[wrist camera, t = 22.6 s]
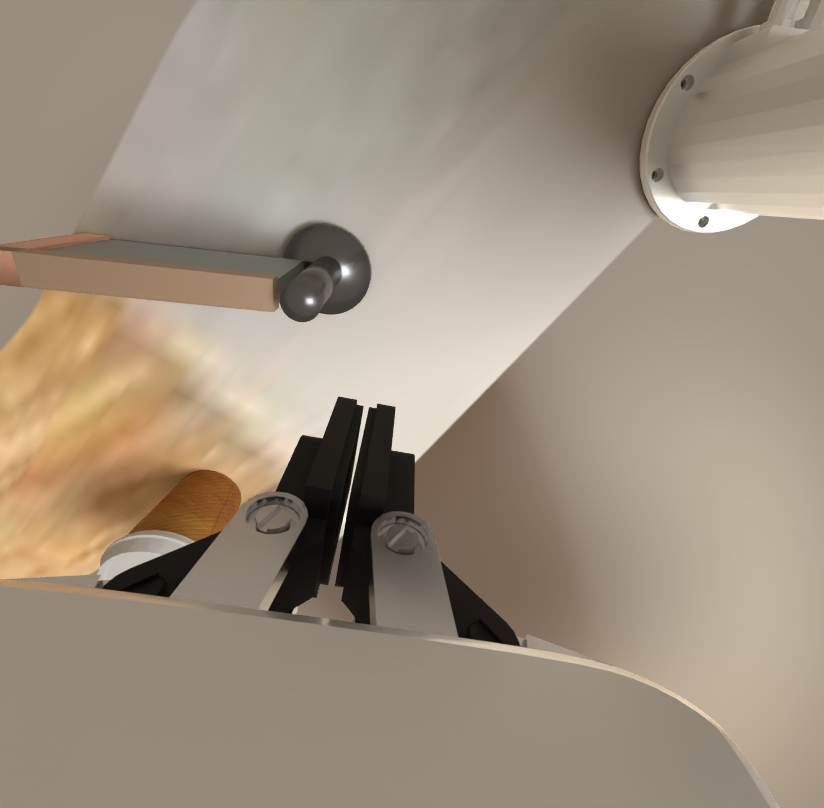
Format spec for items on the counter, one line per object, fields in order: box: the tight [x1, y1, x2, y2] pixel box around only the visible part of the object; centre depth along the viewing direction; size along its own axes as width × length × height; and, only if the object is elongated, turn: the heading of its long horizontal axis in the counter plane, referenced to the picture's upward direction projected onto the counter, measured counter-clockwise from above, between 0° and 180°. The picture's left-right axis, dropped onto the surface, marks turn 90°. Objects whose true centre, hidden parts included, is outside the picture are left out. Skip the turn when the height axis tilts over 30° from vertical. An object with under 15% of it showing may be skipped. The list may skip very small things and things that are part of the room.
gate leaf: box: [0, 233, 304, 312], centre depth 29 cm, size 16×2×9 cm, turn 84°
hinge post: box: [280, 224, 371, 322], centre depth 29 cm, size 7×7×11 cm
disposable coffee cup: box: [97, 471, 241, 580], centre depth 39 cm, size 10×10×12 cm
